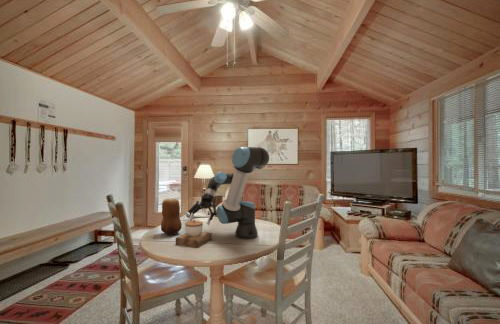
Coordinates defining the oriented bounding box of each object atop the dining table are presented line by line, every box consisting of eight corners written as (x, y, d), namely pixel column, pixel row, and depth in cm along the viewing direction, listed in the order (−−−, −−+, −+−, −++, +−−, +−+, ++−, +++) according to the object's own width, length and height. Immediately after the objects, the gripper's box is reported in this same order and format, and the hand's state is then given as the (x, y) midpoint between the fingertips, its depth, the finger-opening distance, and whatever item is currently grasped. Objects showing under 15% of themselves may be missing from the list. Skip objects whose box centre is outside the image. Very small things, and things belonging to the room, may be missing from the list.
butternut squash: (174, 230, 189) (174, 196, 189) (185, 233, 180) (185, 198, 180) (156, 234, 178) (156, 198, 178) (167, 238, 170) (167, 200, 169)
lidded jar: (198, 238, 156) (198, 222, 156) (182, 237, 158) (182, 221, 158) (205, 233, 167) (205, 218, 167) (189, 232, 169) (189, 217, 169)
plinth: (211, 239, 167) (211, 233, 167) (198, 247, 152) (198, 240, 152) (190, 237, 173) (190, 230, 173) (175, 244, 158) (175, 237, 158)
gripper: (226, 200, 180) (217, 227, 166) (195, 198, 188) (184, 224, 174) (223, 194, 175) (213, 221, 161) (191, 192, 183) (179, 218, 169)
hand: (198, 223), depth 167 cm, fingers open, 13 cm apart
